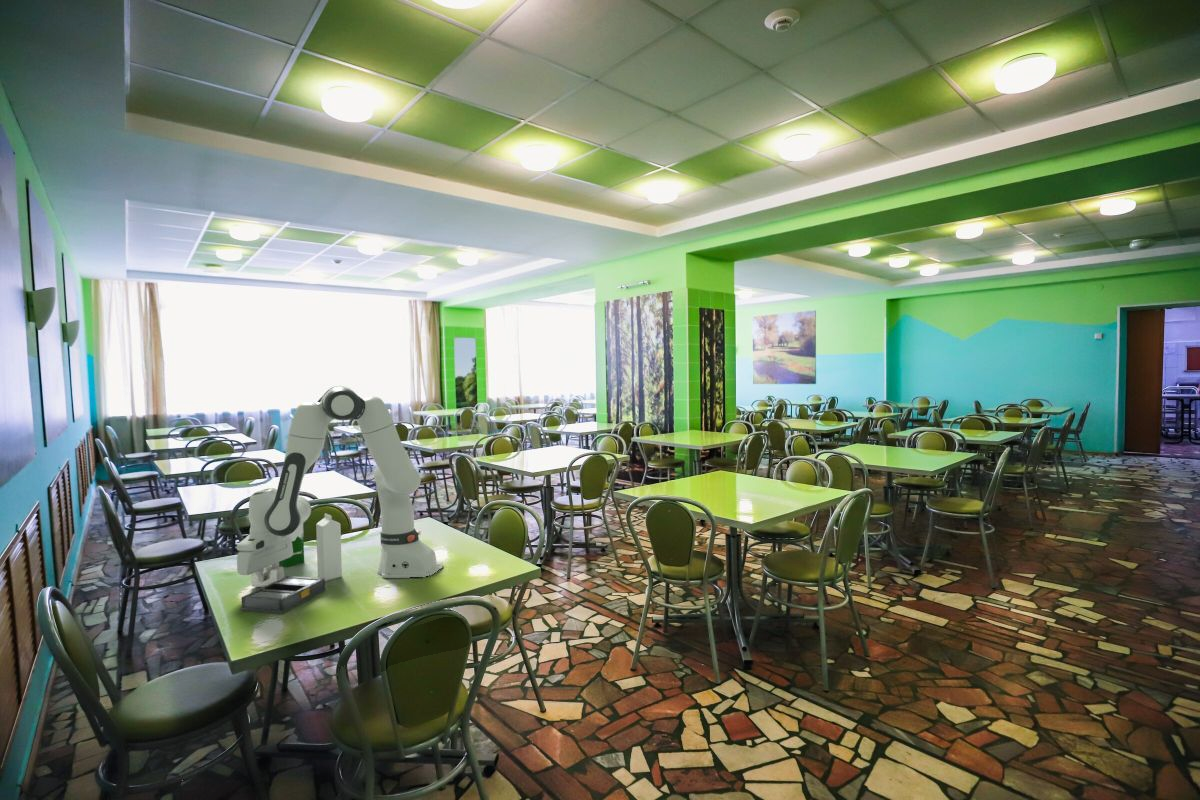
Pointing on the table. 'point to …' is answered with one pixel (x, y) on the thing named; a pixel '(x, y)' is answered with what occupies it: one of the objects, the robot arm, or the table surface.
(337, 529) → the milk
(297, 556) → the milk carton
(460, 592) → the table surface
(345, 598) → the table surface
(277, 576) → the white rectangular block
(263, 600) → the tray
